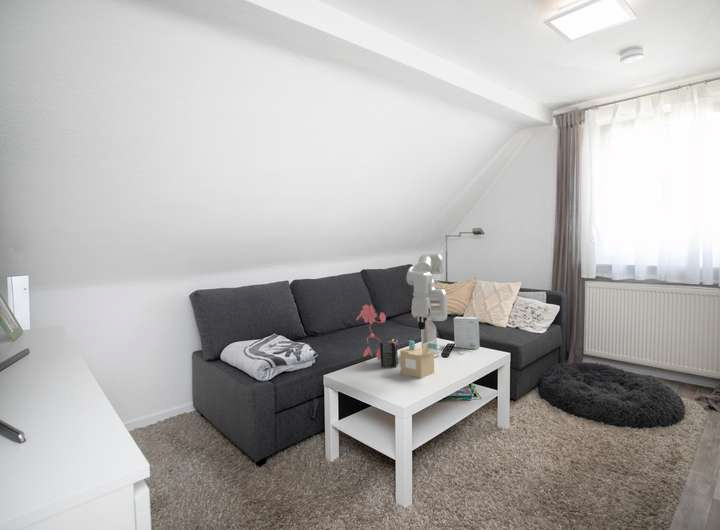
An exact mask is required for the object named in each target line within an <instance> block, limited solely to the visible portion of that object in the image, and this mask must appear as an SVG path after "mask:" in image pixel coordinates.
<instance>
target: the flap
mask: <svg viewBox="0 0 720 530" xmlns="http://www.w3.org/2000/svg"><path fill="white" fill-rule="evenodd" d="M421 349H422V355H423V356H425V355H427V354H430V353H432V352H435V350H437V349H438V343H437V344H436V343H435V340H434V341H431V342H428V343H425V344H421ZM437 351H438V350H437Z"/></svg>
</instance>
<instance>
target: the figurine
mask: <svg viewBox="0 0 720 530" xmlns="http://www.w3.org/2000/svg"><path fill="white" fill-rule="evenodd" d="M377 316H378V315H377V313H376V312H375V308H374V307H373V305H372V304H369V305H368V304H367V303H365V305H362V309H361V311H360V314H359V315H358V316H357V317H356V319H355V321H358V320H359V319H361V318H362V319H364V323H366V324H367V323H369V326H368V327H369V331H370V335H369V336H368V337H367V339H366V340H367V341H366V342H367V343H369V340H368V339H369V338H371V339H374V338H375V339H377V340H379V343H380V342H381V341H382V340H381V339H379V338H378V337H376V336H375V334H374V333H372V329H371V325H372V324H374V323H377V324H378V323H380V324H382V323H385V322H386V320H387V319H386V318H387V316H386V314H385V313H384V312H383V311H381V312H380V313H379V319H380V321H377V320H376V318H377ZM369 354H370V356H371V357H373V354H372V353H371V347H367V348H366V349H365V350H364V353H363V358H366V357H367V356H368V355H369ZM375 357H376V358H377V360H378V361H381V357H380V346H379V349H377V351H376V353H375ZM362 363H363V364H365V362H363V361H362Z"/></svg>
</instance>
